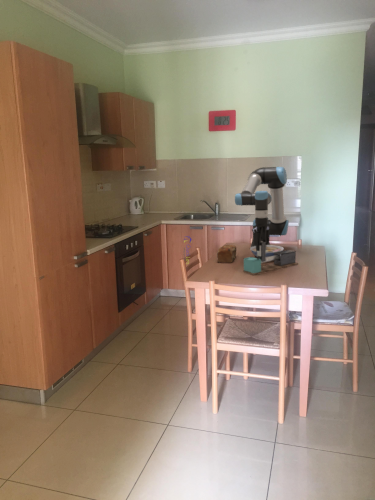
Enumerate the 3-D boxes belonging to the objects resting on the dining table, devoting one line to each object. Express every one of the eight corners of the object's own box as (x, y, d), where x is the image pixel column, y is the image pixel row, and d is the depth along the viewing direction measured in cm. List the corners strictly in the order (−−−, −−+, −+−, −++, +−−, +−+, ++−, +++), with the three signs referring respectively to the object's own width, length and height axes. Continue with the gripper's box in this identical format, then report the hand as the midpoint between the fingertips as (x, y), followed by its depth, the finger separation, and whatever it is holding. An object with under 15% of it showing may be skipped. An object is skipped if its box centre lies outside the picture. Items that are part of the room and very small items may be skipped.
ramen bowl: (284, 263, 256) (284, 251, 254) (249, 263, 260) (249, 251, 259) (283, 254, 280) (283, 243, 278) (250, 254, 284) (250, 243, 282)
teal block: (250, 268, 242) (250, 256, 241) (261, 271, 235) (261, 259, 233) (243, 270, 239) (243, 258, 238) (253, 273, 232) (253, 261, 230)
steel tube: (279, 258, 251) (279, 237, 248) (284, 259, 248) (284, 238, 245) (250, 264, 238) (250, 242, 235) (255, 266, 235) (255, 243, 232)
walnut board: (287, 261, 259) (287, 260, 259) (297, 264, 251) (297, 263, 251) (243, 271, 239) (243, 270, 239) (253, 275, 232) (253, 273, 232)
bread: (232, 263, 262) (232, 248, 260) (216, 262, 265) (216, 248, 263) (237, 256, 279) (236, 243, 277) (222, 256, 282) (222, 242, 280)
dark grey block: (288, 261, 257) (288, 249, 256) (295, 262, 252) (295, 251, 251) (273, 264, 250) (274, 252, 249) (280, 266, 245) (281, 254, 244)
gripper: (255, 219, 227) (255, 258, 232) (275, 216, 235) (275, 254, 240) (247, 217, 233) (247, 256, 238) (267, 215, 241) (266, 252, 246)
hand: (261, 255), depth 239 cm, fingers closed on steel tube, 3 cm apart
